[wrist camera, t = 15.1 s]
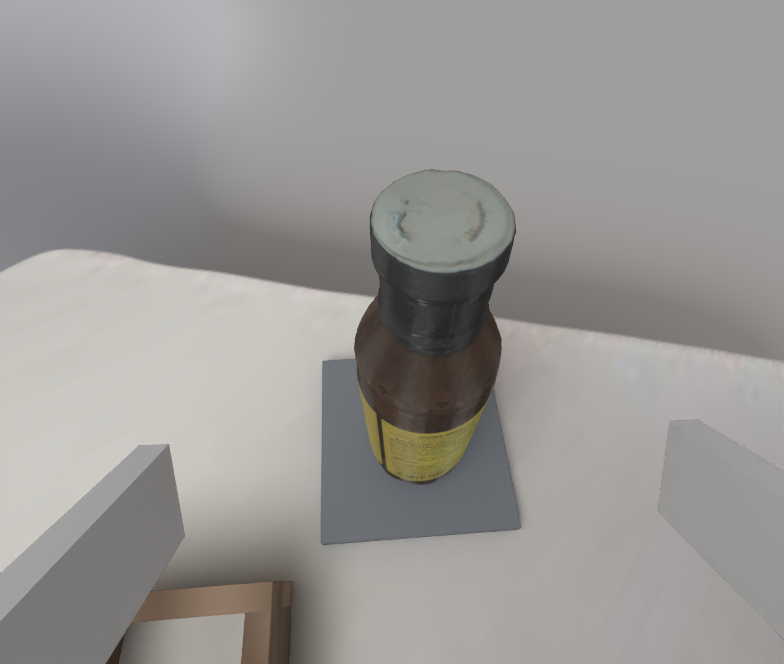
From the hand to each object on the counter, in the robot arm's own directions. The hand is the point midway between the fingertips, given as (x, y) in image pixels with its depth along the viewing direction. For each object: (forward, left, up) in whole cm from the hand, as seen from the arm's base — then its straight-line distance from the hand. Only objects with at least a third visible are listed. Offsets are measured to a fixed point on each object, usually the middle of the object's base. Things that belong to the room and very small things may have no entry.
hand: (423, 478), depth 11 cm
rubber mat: (-1, -6, -18) cm, 19 cm away
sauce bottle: (-1, -6, -17) cm, 18 cm away
